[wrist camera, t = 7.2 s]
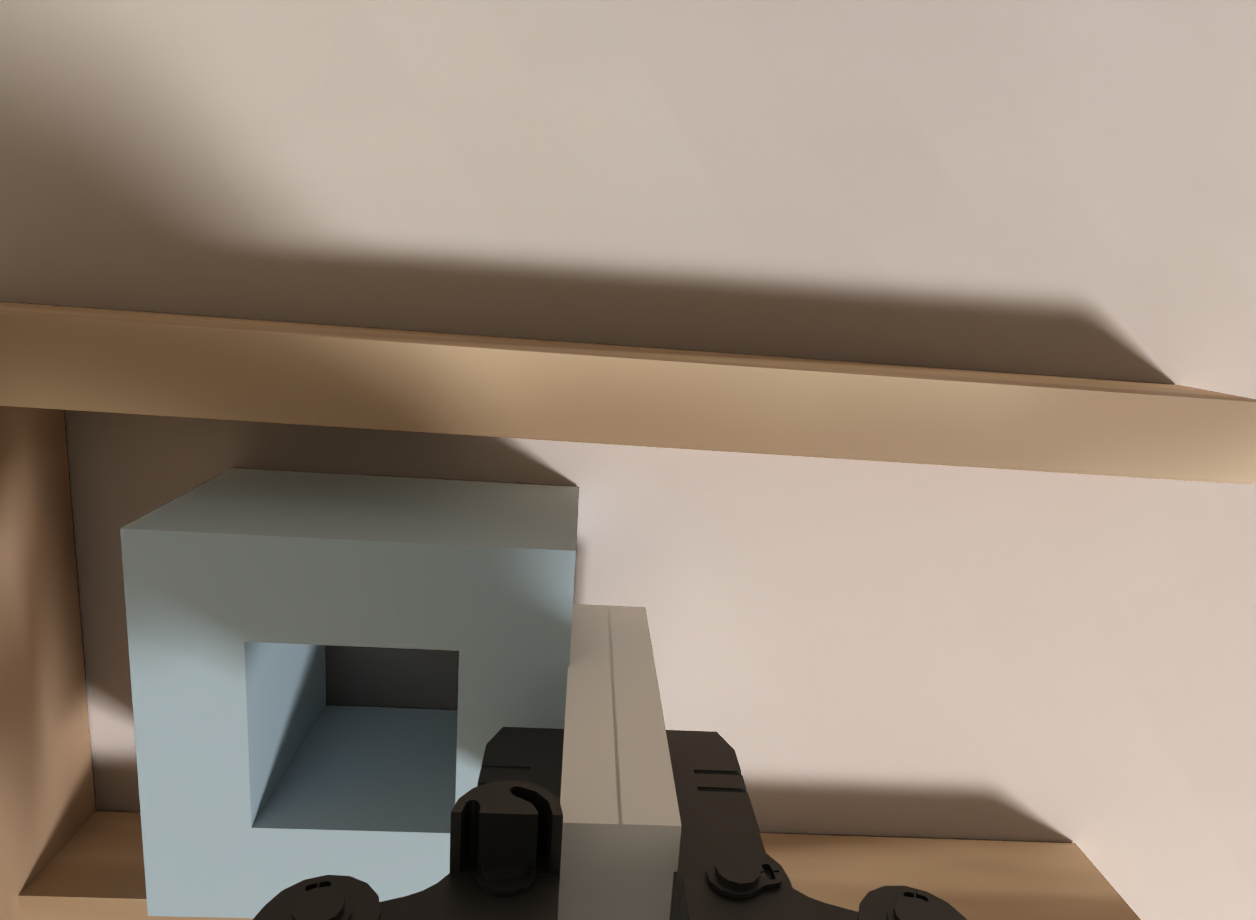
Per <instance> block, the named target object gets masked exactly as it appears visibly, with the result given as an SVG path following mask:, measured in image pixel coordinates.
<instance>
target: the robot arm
mask: <svg viewBox="0 0 1256 920" xmlns="http://www.w3.org/2000/svg"><path fill="white" fill-rule="evenodd" d="M253 920H967V919H966V918H965V917H964V916H963V915H962V914H961V913H959V912H958V911H957V910H956V909H955V908H954V907H952V906H951V905H950V904H949V903H948V902H946V901H944V900H942V899H940V898H938V897H936V896H934V895H933V894H931V893H929V892H927V891H923V890H919V889H916V888H912V887H908V886H882V887H880V888H877V889H875V890H872V891H869V892H868V893H867V895H866V896H865V897H864V898H863V900H862V901H861V902H860V904H859V910H858V912H857V911H853V910H850V909H846V908H842V907H839V906H835V905H831V904H828V903H824V902H822V901H819V900H816V899H813V898H810V897H808V896H806V895H804V894H803V893H801V892H799V891H797V890H795V889H794V888H792V885H791V882H790V879H789V878H788V876H787V874H786V873H785V871H784V869H783V867H782V866H781V865H780V864H779V863H778V862H776V861H775V860H774V859H773V858H772V857H770V856H769V855H768V854H767V853H766V852H765V849H764V845H763V842H762V839H761V836H760V832H759V829H758V826H757V822H756V819H755V816H754V813H753V809H752V806H751V803H750V799H749V796H748V793H746V786H745V783H744V780H743V776H742V775H741V770H740V767H739V763H738V760H737V757H736V753H735V750H734V749H733V748H732V747H731V746H730V745H729V744H728V743H727V742H726V741H725V740H724V739H723V738H722V737H721V736H720V735H719V734H718V733H717V732H704V731H676V730H666V729H665V723H664V717H663V711H662V705H661V699H660V693H659V687H658V681H657V675H656V669H655V663H654V657H653V651H652V645H651V639H650V633H649V627H648V621H647V615H646V609H645V607H626V606H603V605H581V604H573V613H572V630H571V647H570V665H569V667H568V675H567V692H566V709H565V727H564V729H553V728H525V727H502V728H501V729H500V730H499V732H498V733H497V734H496V735H495V736H494V737H493V738H492V739H491V740H490V741H489V742H488V743H487V744H486V748H485V752H484V757H483V761H482V766H481V770H480V774H479V779H478V785H477V787H475V788H472V789H471V790H470V791H468V792H467V793H466V794H464V795H463V796H462V797H460V798H459V799H458V800H457V802H456V804H455V806H454V807H453V809H452V811H451V826H450V873H449V874H448V875H447V876H445V877H444V878H443V879H442V880H440V881H439V882H438V883H436V884H434V885H432V886H431V887H429V888H427V889H425V890H423V891H420V892H417V893H414V894H411V895H408V896H404V897H400V898H395V899H391V900H387V901H382V902H379V896H378V895H377V893H376V892H375V891H374V890H373V889H372V888H371V887H370V885H369V884H368V883H366V882H363V881H361V880H358V879H356V878H354V877H351V876H341V875H324V876H320V877H315V878H310V879H305V880H303V881H301V882H299V883H297V884H294V885H292V886H290V887H288V888H286V889H284V890H282V891H281V892H280V893H279V894H277V895H276V896H275V897H274V898H273V899H272V900H271V901H269V902H268V903H267V904H266V905H265V906H264V907H263V908H262V909H261V910H260V912H259V913H258V914H257V915H256V916H255V917H254V919H253Z"/></svg>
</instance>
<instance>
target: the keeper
mask: <svg viewBox="0 0 1256 920" xmlns="http://www.w3.org/2000/svg"><path fill="white" fill-rule="evenodd" d="M578 496H579V487H573V486H554V485H536V484H517V483H499V482H480V481H462V480H443V479H425V478H406V477H388V476H369V475H351V474H332V473H314V472H295V471H277V470H259V469H240V468H231V469H229V470H227V471H225V472H223V473H222V474H220V475H218V476H216V477H214V478H212V479H211V480H209V481H207V482H205V483H203V484H201V485H199V486H198V487H196V488H194V489H192V490H190V491H188V492H186V493H185V494H183V495H181V496H179V497H177V498H175V499H174V500H172V501H170V502H168V503H166V504H164V505H162V506H161V507H159V508H157V509H155V510H153V511H151V512H150V513H148V514H146V515H144V516H142V517H140V518H138V519H137V520H135V521H133V522H131V523H129V524H127V525H126V526H124V527H122V528H120V537H121V551H122V565H123V579H124V592H125V606H126V620H127V634H128V648H129V661H130V675H131V689H132V703H133V717H134V730H135V744H136V758H137V772H138V786H139V799H140V813H141V827H142V841H143V855H144V868H145V882H146V896H147V910H148V916H171V917H219V918H254V917H255V916H256V915H257V914H258V913H259V912H260V910H261V909H262V908H263V907H264V906H265V905H266V904H267V903H268V902H269V901H271V900H272V899H273V898H274V897H275V896H276V895H277V894H279V893H280V892H281V891H282V890H284V889H286V888H288V887H290V886H292V885H294V884H297V883H299V882H301V881H303V880H305V879H310V878H315V877H320V876H324V875H341V876H351V877H354V878H356V879H358V880H361V881H363V882H366V883H368V884H369V885H370V887H371V888H372V889H373V890H374V891H375V892H376V893H377V895H378V896H379V902H382V901H387V900H391V899H395V898H400V897H404V896H408V895H411V894H414V893H417V892H420V891H423V890H425V889H427V888H429V887H431V886H432V885H434V884H436V883H438V882H439V881H440V880H442V879H443V878H444V877H445V876H447V875H448V874H449V873H450V826H451V811H452V809H453V807H454V806H455V804H456V802H457V800H458V799H459V798H460V797H462V796H463V795H464V794H466V793H467V792H468V791H470V790H471V789H472V788H475V787H477V785H478V779H479V774H480V770H481V766H482V761H483V757H484V752H485V748H486V744H487V743H488V742H489V741H490V740H491V739H492V738H493V737H494V736H495V735H496V734H497V733H498V732H499V730H500V729H501V728H502V727H525V728H553V729H564V727H565V709H566V692H567V675H568V667H569V665H570V647H571V630H572V613H573V595H574V578H575V560H576V540H577V518H578ZM325 645H333V646H357V647H381V648H405V649H430V650H454V651H459V674H458V710H441V709H414V708H387V707H360V706H333V705H326V663H325Z"/></svg>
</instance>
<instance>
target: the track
mask: <svg viewBox="0 0 1256 920" xmlns="http://www.w3.org/2000/svg"><path fill="white" fill-rule="evenodd" d="M64 410H77V411H93V412H109V413H125V414H140V415H156V416H172V417H188V418H204V419H220V420H236V421H252V422H268V423H283V424H299V425H315V426H331V427H347V428H363V429H379V430H395V431H410V432H426V433H442V434H458V435H474V436H490V437H506V438H522V439H537V440H553V441H569V442H585V443H601V444H617V445H633V446H649V447H664V448H680V449H696V450H712V451H728V452H744V453H760V454H776V455H792V456H807V457H823V458H839V459H855V460H871V461H887V462H903V463H919V464H934V465H950V466H966V467H982V468H998V469H1014V470H1030V471H1046V472H1061V473H1077V474H1093V475H1109V476H1125V477H1141V478H1157V479H1173V480H1188V481H1204V482H1220V483H1236V484H1252V485H1256V400H1255V399H1250V398H1245V397H1239V396H1234V395H1229V394H1223V393H1218V392H1213V391H1207V390H1202V389H1197V388H1191V387H1186V386H1180V385H1170V384H1156V383H1142V382H1128V381H1114V380H1100V379H1085V378H1071V377H1057V376H1043V375H1029V374H1015V373H1001V372H987V371H972V370H958V369H944V368H930V367H916V366H902V365H888V364H873V363H859V362H845V361H831V360H817V359H803V358H789V357H774V356H760V355H746V354H732V353H718V352H704V351H690V350H676V349H661V348H647V347H633V346H619V345H605V344H591V343H577V342H562V341H548V340H534V339H520V338H506V337H492V336H478V335H464V334H449V333H435V332H421V331H407V330H393V329H379V328H365V327H350V326H336V325H322V324H308V323H294V322H280V321H266V320H251V319H237V318H223V317H209V316H195V315H181V314H167V313H153V312H138V311H124V310H110V309H96V308H82V307H68V306H54V305H39V304H25V303H11V302H0V920H253V919H254V918H219V917H171V916H148V910H147V896H146V882H145V868H144V855H143V841H142V827H141V813H138V812H107V811H96V808H95V795H94V783H93V770H92V758H91V745H90V732H89V720H88V707H87V695H86V682H85V670H84V657H83V645H82V632H81V620H80V607H79V594H78V582H77V569H76V557H75V544H74V532H73V519H72V507H71V494H70V482H69V469H68V456H67V444H66V431H65V419H64ZM760 836H761V839H762V842H763V845H764V849H765V852H766V853H767V854H768V855H769V856H770V857H772V858H773V859H774V860H775V861H776V862H778V863H779V864H780V865H781V866H782V867H783V869H784V871H785V873H786V874H787V876H788V878H789V879H790V882H791V885H792V888H794V889H795V890H797V891H799V892H801V893H803V894H804V895H806V896H808V897H810V898H813V899H816V900H819V901H822V902H824V903H828V904H831V905H835V906H839V907H842V908H846V909H850V910H853V911H857V912H858V910H859V904H860V902H861V901H862V900H863V898H864V897H865V896H866V895H867V893H868V892H869V891H872V890H875V889H877V888H880V887H882V886H908V887H912V888H916V889H919V890H923V891H927V892H929V893H931V894H933V895H934V896H936V897H938V898H940V899H942V900H944V901H946V902H948V903H949V904H950V905H951V906H952V907H954V908H955V909H956V910H957V911H958V912H959V913H961V914H962V915H963V916H964V917H965V918H966V919H967V920H1140V918H1139V917H1138V916H1137V915H1136V914H1135V913H1134V911H1133V910H1132V909H1131V908H1130V907H1129V906H1128V904H1127V903H1126V902H1125V901H1124V900H1123V899H1122V897H1121V896H1120V895H1119V894H1118V893H1117V892H1116V890H1115V889H1114V888H1113V887H1112V886H1111V885H1110V883H1109V882H1108V881H1107V880H1106V879H1105V878H1104V876H1103V875H1102V874H1101V873H1100V872H1099V871H1098V869H1097V868H1096V867H1095V866H1094V865H1093V864H1092V862H1091V861H1090V860H1089V859H1088V858H1087V857H1086V855H1085V854H1084V853H1083V852H1082V851H1081V850H1080V848H1079V847H1078V846H1077V845H1076V844H1075V843H1049V842H1019V841H988V840H958V839H928V838H897V837H867V836H836V835H806V834H776V833H760Z"/></svg>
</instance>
